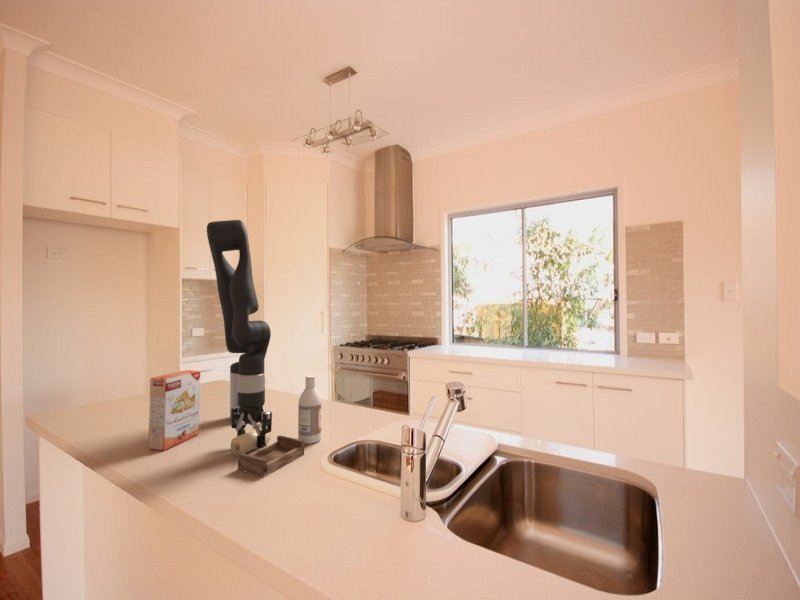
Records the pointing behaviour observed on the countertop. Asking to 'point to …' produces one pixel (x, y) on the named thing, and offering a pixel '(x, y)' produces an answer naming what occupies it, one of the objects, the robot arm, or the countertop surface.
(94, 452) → the countertop surface
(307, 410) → the bath foam
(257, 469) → the cradle
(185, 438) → the cracker box
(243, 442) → the roll
